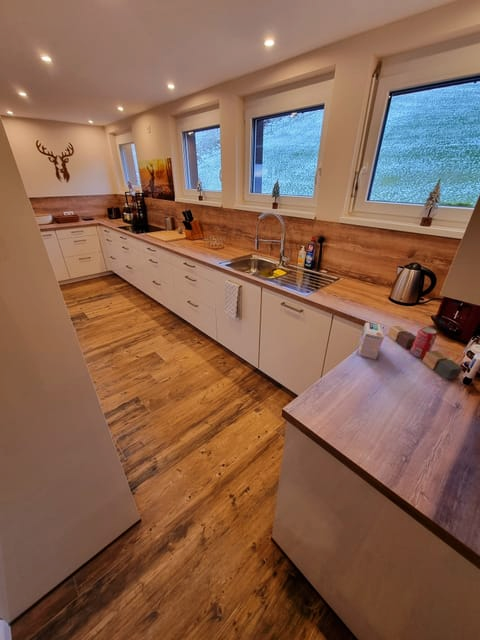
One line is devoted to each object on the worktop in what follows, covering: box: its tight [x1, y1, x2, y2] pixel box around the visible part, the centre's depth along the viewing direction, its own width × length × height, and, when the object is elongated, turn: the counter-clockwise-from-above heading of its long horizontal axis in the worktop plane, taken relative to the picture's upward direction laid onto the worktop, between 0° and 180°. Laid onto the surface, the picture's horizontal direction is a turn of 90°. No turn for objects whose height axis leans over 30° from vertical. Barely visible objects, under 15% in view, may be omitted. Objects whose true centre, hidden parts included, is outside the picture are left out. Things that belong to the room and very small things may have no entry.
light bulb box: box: [358, 321, 385, 360], centre depth 108 cm, size 11×7×11 cm, turn 157°
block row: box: [387, 325, 464, 381], centre depth 108 cm, size 5×31×5 cm, turn 13°
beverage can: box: [409, 326, 438, 359], centre depth 106 cm, size 6×6×12 cm
